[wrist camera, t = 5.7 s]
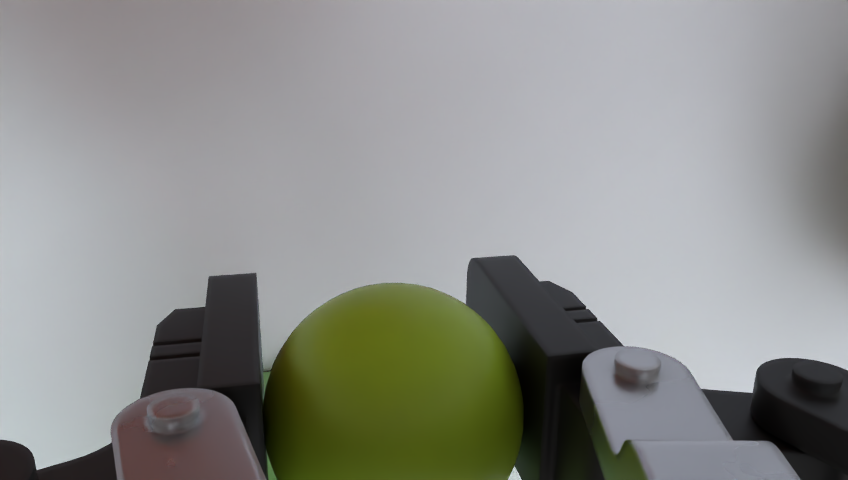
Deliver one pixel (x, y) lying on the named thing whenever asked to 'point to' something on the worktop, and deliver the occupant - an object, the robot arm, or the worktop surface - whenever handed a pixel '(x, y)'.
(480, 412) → the switch lever
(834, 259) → the worktop surface
